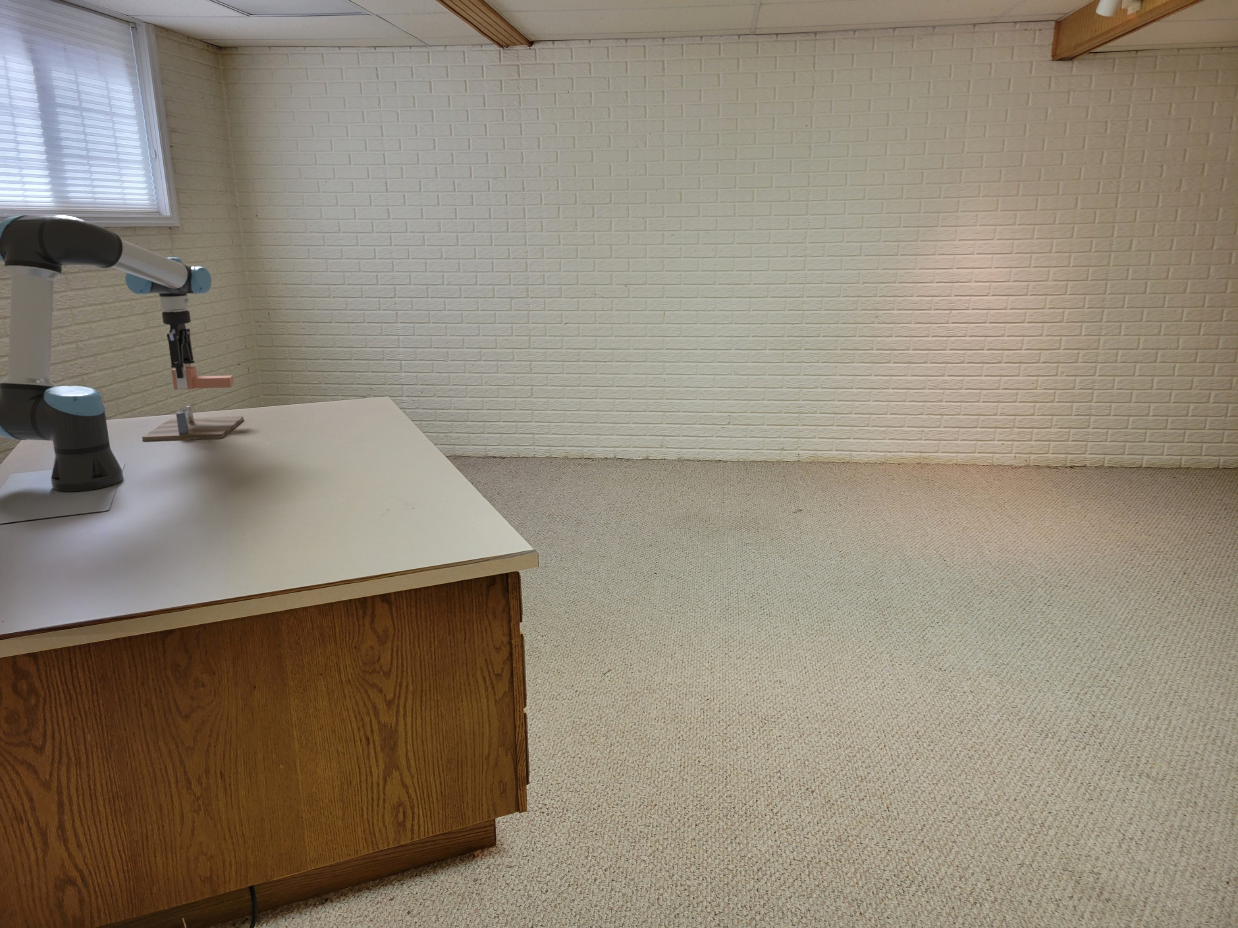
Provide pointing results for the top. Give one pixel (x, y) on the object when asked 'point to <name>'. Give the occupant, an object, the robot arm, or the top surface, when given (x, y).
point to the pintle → (190, 414)
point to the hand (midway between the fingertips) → (186, 386)
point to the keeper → (182, 421)
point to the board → (194, 429)
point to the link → (203, 380)
